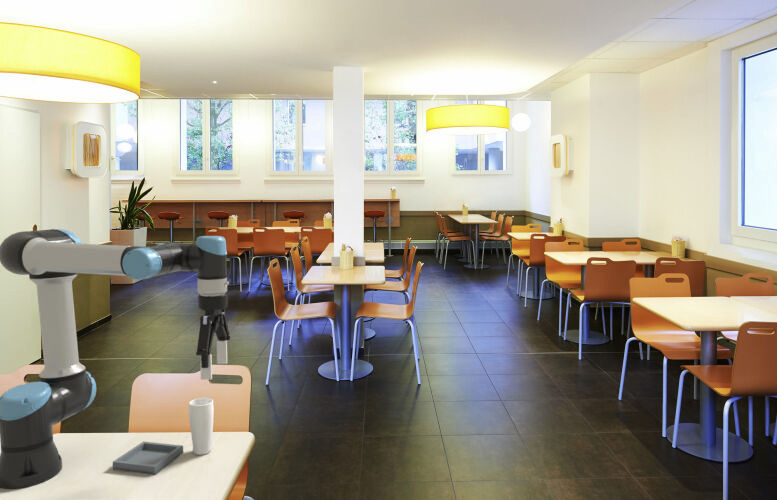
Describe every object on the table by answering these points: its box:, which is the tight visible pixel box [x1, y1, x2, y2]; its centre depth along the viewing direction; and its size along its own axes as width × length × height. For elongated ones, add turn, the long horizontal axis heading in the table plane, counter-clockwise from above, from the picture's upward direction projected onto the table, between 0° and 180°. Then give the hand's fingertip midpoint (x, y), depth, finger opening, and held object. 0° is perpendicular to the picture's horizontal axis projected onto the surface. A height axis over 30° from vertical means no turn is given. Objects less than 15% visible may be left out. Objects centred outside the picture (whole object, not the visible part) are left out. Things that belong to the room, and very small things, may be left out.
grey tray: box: [112, 441, 184, 475], centre depth 154 cm, size 13×13×2 cm
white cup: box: [188, 397, 215, 456], centre depth 160 cm, size 7×7×15 cm
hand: (214, 371), depth 149 cm, fingers open, 13 cm apart
